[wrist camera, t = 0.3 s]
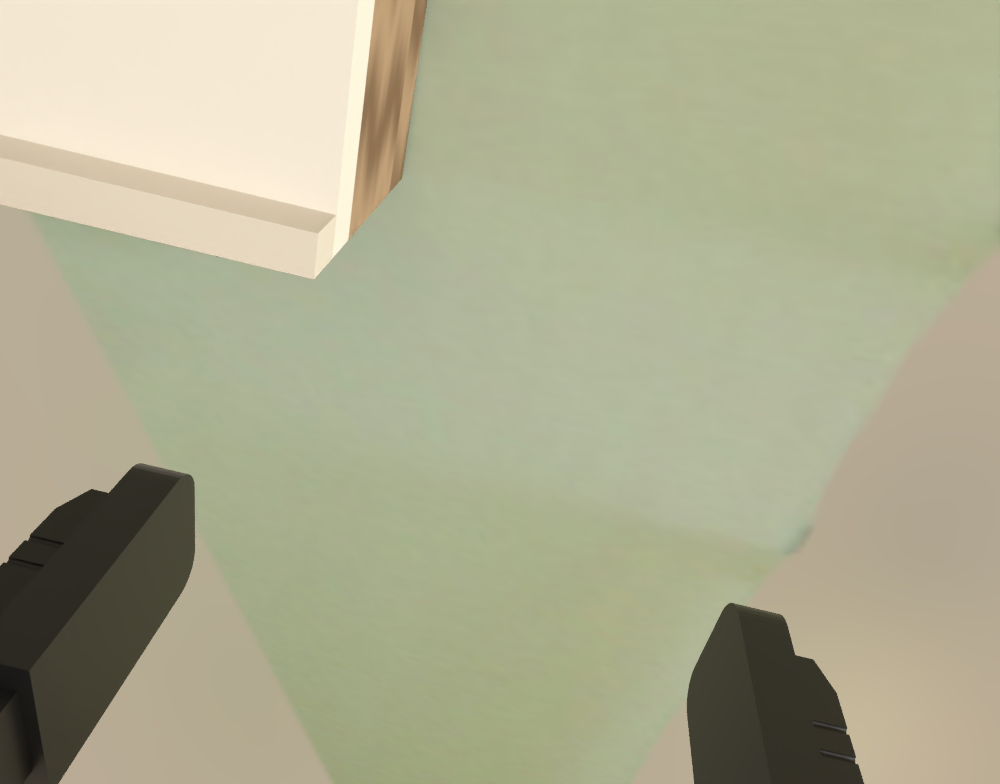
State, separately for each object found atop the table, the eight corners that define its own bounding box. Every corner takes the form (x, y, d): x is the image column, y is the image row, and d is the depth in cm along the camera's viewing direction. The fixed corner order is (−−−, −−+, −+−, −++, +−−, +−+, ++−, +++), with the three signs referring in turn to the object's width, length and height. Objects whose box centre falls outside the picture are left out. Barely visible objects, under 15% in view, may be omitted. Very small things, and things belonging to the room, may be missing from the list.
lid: (-14, -197, 24) (-119, -222, 20) (386, -101, 24) (349, -109, 20) (24, 162, 29) (-54, 191, 26) (348, 239, 29) (313, 279, 26)
